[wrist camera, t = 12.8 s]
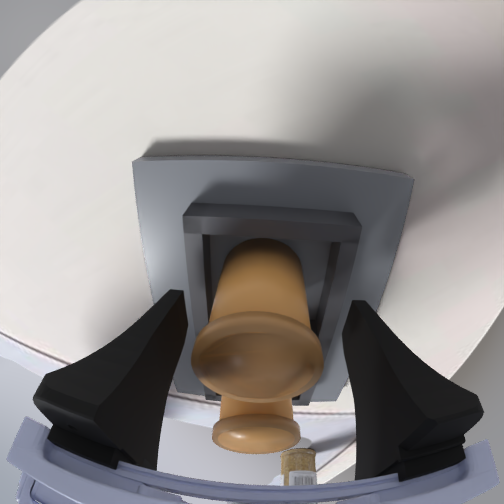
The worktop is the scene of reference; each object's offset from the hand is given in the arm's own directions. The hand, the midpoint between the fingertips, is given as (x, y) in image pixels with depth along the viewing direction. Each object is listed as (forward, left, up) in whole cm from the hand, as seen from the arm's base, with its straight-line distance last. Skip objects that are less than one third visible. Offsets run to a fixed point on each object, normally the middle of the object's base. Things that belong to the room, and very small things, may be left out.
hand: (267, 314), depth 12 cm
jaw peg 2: (-6, 0, -3) cm, 7 cm away
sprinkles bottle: (-28, -6, -4) cm, 29 cm away
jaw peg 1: (0, 0, -3) cm, 3 cm away
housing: (-3, 0, -4) cm, 5 cm away
